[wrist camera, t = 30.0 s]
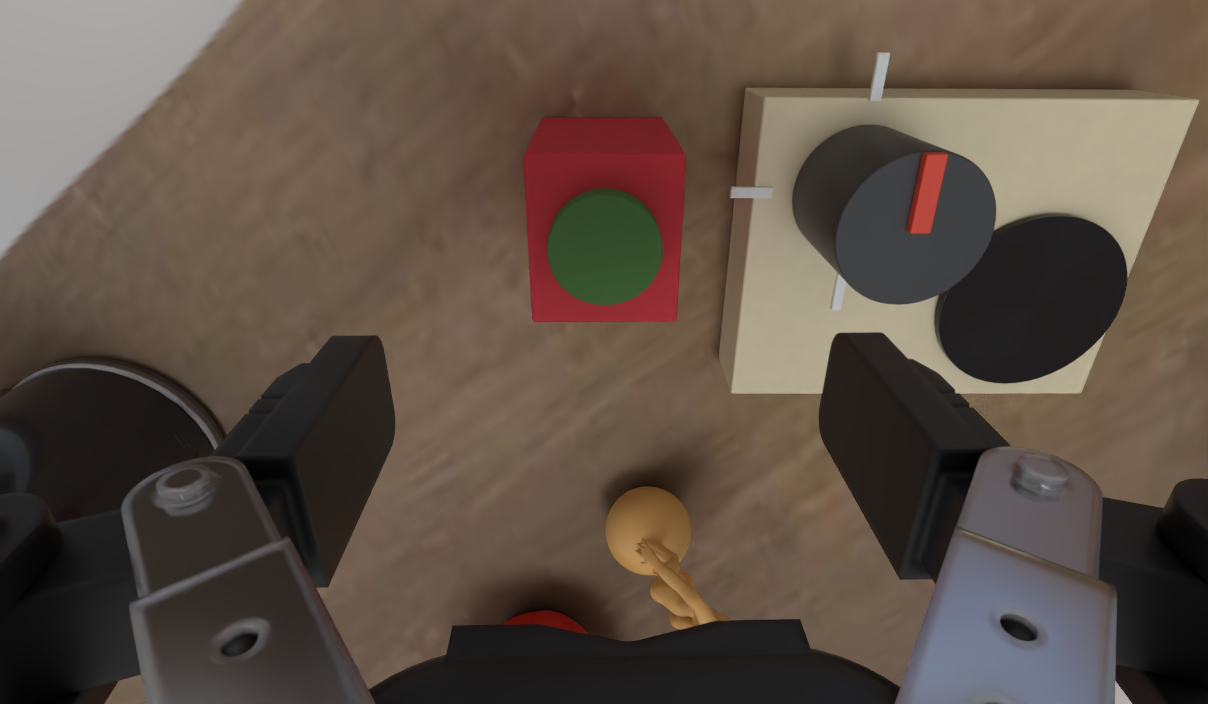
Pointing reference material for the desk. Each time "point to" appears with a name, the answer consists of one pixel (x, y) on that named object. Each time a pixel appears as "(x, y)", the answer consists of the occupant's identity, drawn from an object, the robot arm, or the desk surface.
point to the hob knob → (894, 213)
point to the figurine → (658, 551)
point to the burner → (1033, 299)
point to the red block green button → (604, 219)
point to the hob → (958, 124)
